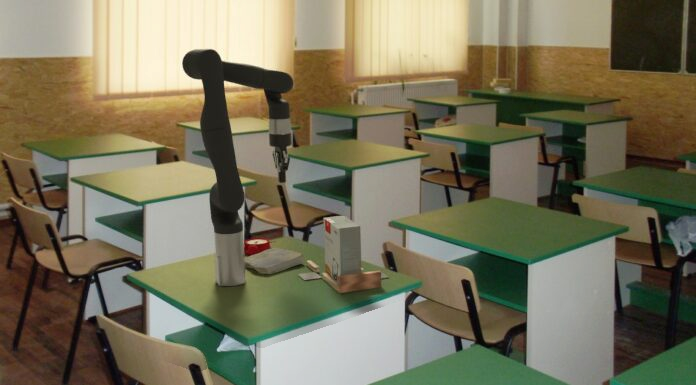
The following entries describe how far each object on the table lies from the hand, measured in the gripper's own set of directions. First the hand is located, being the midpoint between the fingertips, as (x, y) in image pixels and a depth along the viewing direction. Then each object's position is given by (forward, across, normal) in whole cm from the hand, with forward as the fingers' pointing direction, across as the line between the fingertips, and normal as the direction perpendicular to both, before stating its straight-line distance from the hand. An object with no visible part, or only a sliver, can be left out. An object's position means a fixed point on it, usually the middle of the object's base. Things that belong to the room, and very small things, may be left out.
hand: (282, 182), depth 281 cm
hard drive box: (+29, +27, +11) cm, 41 cm away
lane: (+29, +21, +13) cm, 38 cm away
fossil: (+30, -2, -5) cm, 30 cm away
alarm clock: (+30, -20, -6) cm, 36 cm away
